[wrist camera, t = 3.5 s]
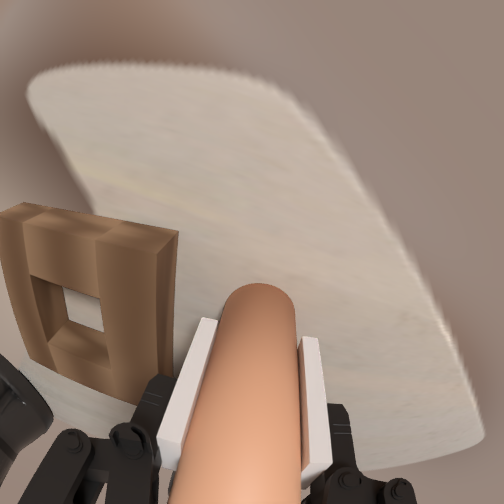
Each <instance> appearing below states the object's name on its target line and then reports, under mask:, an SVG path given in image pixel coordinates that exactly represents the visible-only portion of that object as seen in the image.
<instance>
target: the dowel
mask: <svg viewBox="0 0 504 504" xmlns="http://www.w3.org/2000/svg"><path fill="white" fill-rule="evenodd" d="M167 504H301V435H300V400H299V376H298V355H297V338H296V322H295V309H294V305H293V303H292V301H291V299H290V298H289V297H288V295H287V294H286V293H284V292H283V291H282V290H280V289H279V288H277V287H274V286H272V285H268V284H262V283H254V284H248V285H245V286H242V287H240V288H238V289H237V290H235V291H234V292H233V293H232V294H231V295H230V296H229V298H228V299H227V301H226V304H225V307H224V310H223V313H222V317H221V320H220V323H219V327H218V330H217V333H216V338H215V341H214V344H213V348H212V351H211V354H210V358H209V361H208V364H207V368H206V371H205V375H204V378H203V381H202V385H201V388H200V392H199V395H198V398H197V402H196V405H195V409H194V412H193V416H192V419H191V422H190V426H189V429H188V433H187V436H186V440H185V443H184V447H183V450H182V454H181V456H180V459H179V463H178V466H177V470H176V473H175V477H174V480H173V484H172V487H171V491H170V495H169V498H168V502H167Z"/></svg>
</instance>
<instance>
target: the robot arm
mask: <svg viewBox="0 0 504 504" xmlns="http://www.w3.org/2000/svg"><path fill="white" fill-rule="evenodd" d="M217 325H218V320H214V319H209V318H204V317H202V318H201V321H200V323H199V326H198V328H197V331H196V333H195V336H194V339H193V341H192V344H191V346H190V349H189V351H188V354H187V357H186V359H185V362H184V364H183V367H182V370H181V372H180V375H179V377H178V379H176V378H173V377H169V376H165V375H162V374H157V375H156V376H154V377H153V378H152V379H151V380H150V381H149V382H148V384H147V386H146V389H145V391H144V393H143V395H142V397H141V400H140V401H139V404H138V406H137V408H136V410H135V412H134V415H133V417H132V419H131V421H130V423H121V424H118V425H116V426H115V427H114V428H112V429H111V431H110V433H109V437H110V439H100V438H91V437H88V436H87V435H86V434H85V433H84V432H82V431H81V430H78V429H66V430H64V431H62V432H61V433H60V434H59V435H58V436H57V438H56V440H55V441H54V443H53V444H52V446H51V448H50V449H49V451H48V452H47V454H46V456H45V458H44V459H43V461H42V462H41V464H40V466H39V468H38V469H37V471H36V472H35V474H34V476H33V477H32V479H31V481H30V483H29V484H28V486H27V488H26V490H25V491H24V493H23V495H22V497H21V499H20V501H19V502H18V504H95V503H96V501H97V499H98V496H99V494H100V492H101V490H102V488H103V486H104V484H105V483H107V491H106V499H105V504H158V489H159V475H158V473H159V470H160V467H161V464H162V467H163V468H166V469H170V470H173V471H176V470H177V466H178V463H179V459H180V456H181V454H182V450H183V447H184V443H185V440H186V436H187V433H188V429H189V426H190V422H191V419H192V416H193V412H194V409H195V405H196V402H197V398H198V395H199V392H200V388H201V385H202V381H203V378H204V375H205V371H206V368H207V364H208V361H209V358H210V354H211V351H212V348H213V344H214V341H215V338H216V332H217ZM297 355H298V376H299V400H300V435H301V489H306V488H308V487H309V486H310V495H308V496H307V497H306V498H305V499H303V500H302V502H301V504H417V501H416V497H415V493H414V489H413V487H412V485H411V483H410V482H408V481H407V480H406V479H403V478H395V479H392V480H390V481H389V482H383V481H378V480H373V479H370V478H367V477H366V476H364V475H363V474H362V472H360V471H359V470H358V468H357V465H356V460H355V453H354V446H353V439H352V435H351V427H350V421H349V415H348V413H347V411H346V409H345V408H344V406H343V405H342V404H330V403H326V394H325V386H324V379H323V371H322V364H321V357H320V350H319V343H318V338H312V337H306V336H302V338H301V341H300V344H299V346H298V349H297ZM52 422H53V415H52V413H51V411H50V409H49V407H48V406H47V404H46V403H45V401H44V400H43V399H42V397H41V396H40V395H39V394H38V392H37V391H36V390H35V389H34V388H33V386H32V385H31V384H30V383H29V382H28V381H27V380H26V378H25V377H24V376H23V375H22V374H21V373H20V372H19V371H18V370H17V369H16V368H15V367H14V366H13V365H12V364H11V363H10V362H9V361H8V360H7V359H6V358H5V357H4V356H2V355H1V354H0V487H1V485H2V483H3V481H4V479H5V477H6V475H7V473H8V471H9V469H10V467H11V465H12V464H13V462H14V460H15V459H16V457H17V455H18V453H19V452H20V451H21V450H22V449H23V448H25V447H26V446H28V445H29V444H30V443H32V442H33V441H35V440H36V439H37V438H38V437H40V436H41V435H42V434H44V433H46V432H47V430H48V429H49V427H50V426H51V424H52Z"/></svg>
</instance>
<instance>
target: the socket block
mask: <svg viewBox="0 0 504 504" xmlns="http://www.w3.org/2000/svg"><path fill="white" fill-rule="evenodd" d="M178 233H179V231H176V230H170V229H165V228H160V227H155V226H149V225H144V224H139V223H134V222H128V221H123V220H118V219H112V218H107V217H102V216H96V215H91V214H85V213H80V212H74V211H68V210H64V209H58V208H53V207H47V206H42V205H36V204H31V203H25V202H23V203H21V204H19V205H16V206H14V207H12V208H10V209H7V210H5V211H3V212H0V260H1V265H2V269H3V274H4V278H5V283H6V287H7V290H8V294H9V297H10V301H11V305H12V308H13V312H14V315H15V318H16V321H17V324H18V327H19V330H20V333H21V336H22V338H23V341H24V344H25V347H26V349H27V352H28V354H29V357H30V359H32V360H34V361H36V362H37V363H39V364H41V365H43V366H45V367H47V368H49V369H51V370H53V371H55V372H57V373H59V374H61V375H63V376H65V377H67V378H69V379H71V380H73V381H75V382H78V383H80V384H82V385H84V386H87V387H89V388H91V389H94V390H96V391H99V392H101V393H104V394H106V395H109V396H111V397H114V398H117V399H119V400H122V401H125V402H128V403H130V404H133V405H136V406H138V404H139V401H140V400H141V397H142V395H143V393H144V391H145V389H146V386H147V384H148V382H149V381H150V380H151V379H152V378H153V377H154V376H156V375H157V374H162V375H165V376H169V377H173V321H174V294H175V274H176V258H177V245H178ZM62 286H63V287H66V288H69V289H72V290H75V291H78V292H81V293H84V294H87V295H90V296H93V297H96V298H99V299H100V305H101V313H102V320H103V326H104V333H103V332H100V331H97V330H94V329H92V328H89V327H86V326H83V325H81V324H78V323H76V322H73V321H70V320H69V319H68V315H67V310H66V305H65V300H64V295H63V289H62Z"/></svg>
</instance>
